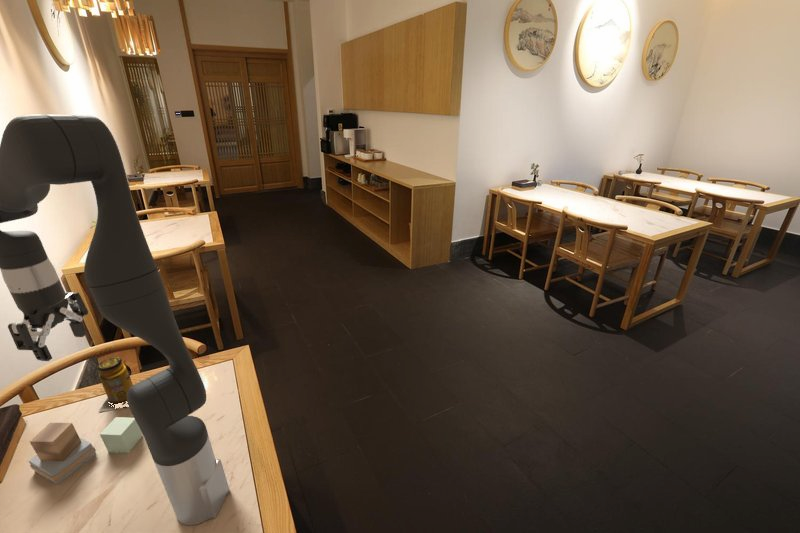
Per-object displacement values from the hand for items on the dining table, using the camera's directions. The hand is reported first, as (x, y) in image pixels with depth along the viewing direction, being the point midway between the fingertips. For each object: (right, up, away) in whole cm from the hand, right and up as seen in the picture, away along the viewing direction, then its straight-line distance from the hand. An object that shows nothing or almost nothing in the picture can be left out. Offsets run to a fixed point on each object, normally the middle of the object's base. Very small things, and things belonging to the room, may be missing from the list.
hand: (64, 347), depth 81 cm
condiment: (-4, -19, +21) cm, 29 cm away
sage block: (+8, -25, +8) cm, 28 cm away
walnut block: (-2, -24, +2) cm, 24 cm away
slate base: (-2, -28, +3) cm, 28 cm away
